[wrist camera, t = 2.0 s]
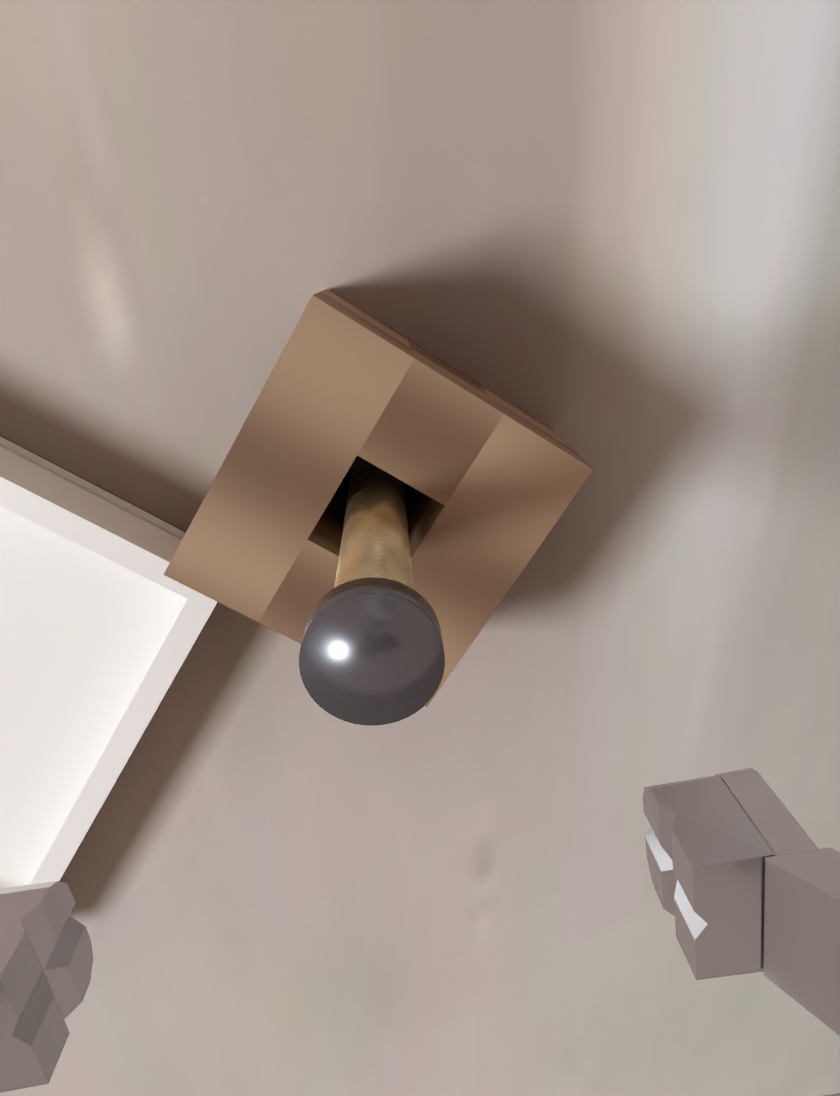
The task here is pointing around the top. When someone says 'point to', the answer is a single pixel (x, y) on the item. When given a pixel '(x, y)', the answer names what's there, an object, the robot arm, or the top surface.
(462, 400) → the walnut block
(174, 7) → the top surface
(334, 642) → the brass pin
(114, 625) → the off-white tray
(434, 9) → the top surface
